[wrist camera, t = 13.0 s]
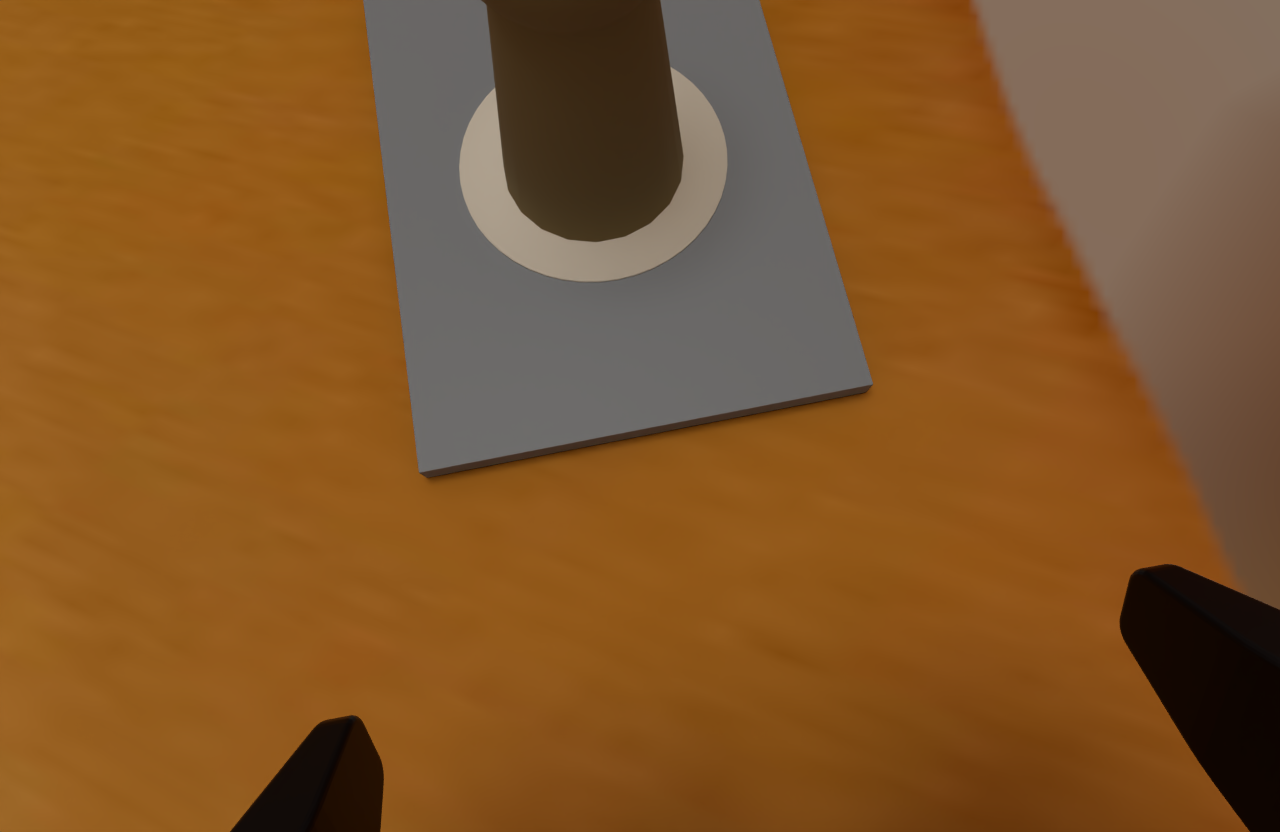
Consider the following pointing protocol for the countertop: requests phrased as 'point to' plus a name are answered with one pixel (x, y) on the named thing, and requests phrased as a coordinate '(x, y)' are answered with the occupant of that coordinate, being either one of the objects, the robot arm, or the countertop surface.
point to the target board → (602, 254)
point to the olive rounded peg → (586, 113)
